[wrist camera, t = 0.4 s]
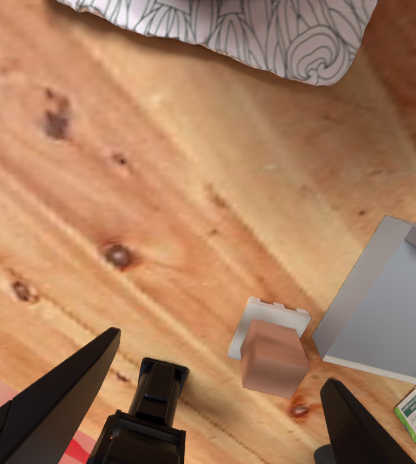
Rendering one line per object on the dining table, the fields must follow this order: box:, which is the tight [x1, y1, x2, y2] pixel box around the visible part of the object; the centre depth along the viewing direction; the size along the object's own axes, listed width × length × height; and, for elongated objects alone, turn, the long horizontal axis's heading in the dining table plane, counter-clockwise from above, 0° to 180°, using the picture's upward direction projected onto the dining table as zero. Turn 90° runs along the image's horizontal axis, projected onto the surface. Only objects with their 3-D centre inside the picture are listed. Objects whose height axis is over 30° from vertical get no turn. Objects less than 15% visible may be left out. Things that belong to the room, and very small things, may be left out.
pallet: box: [228, 296, 311, 399], centre depth 23 cm, size 9×7×6 cm
